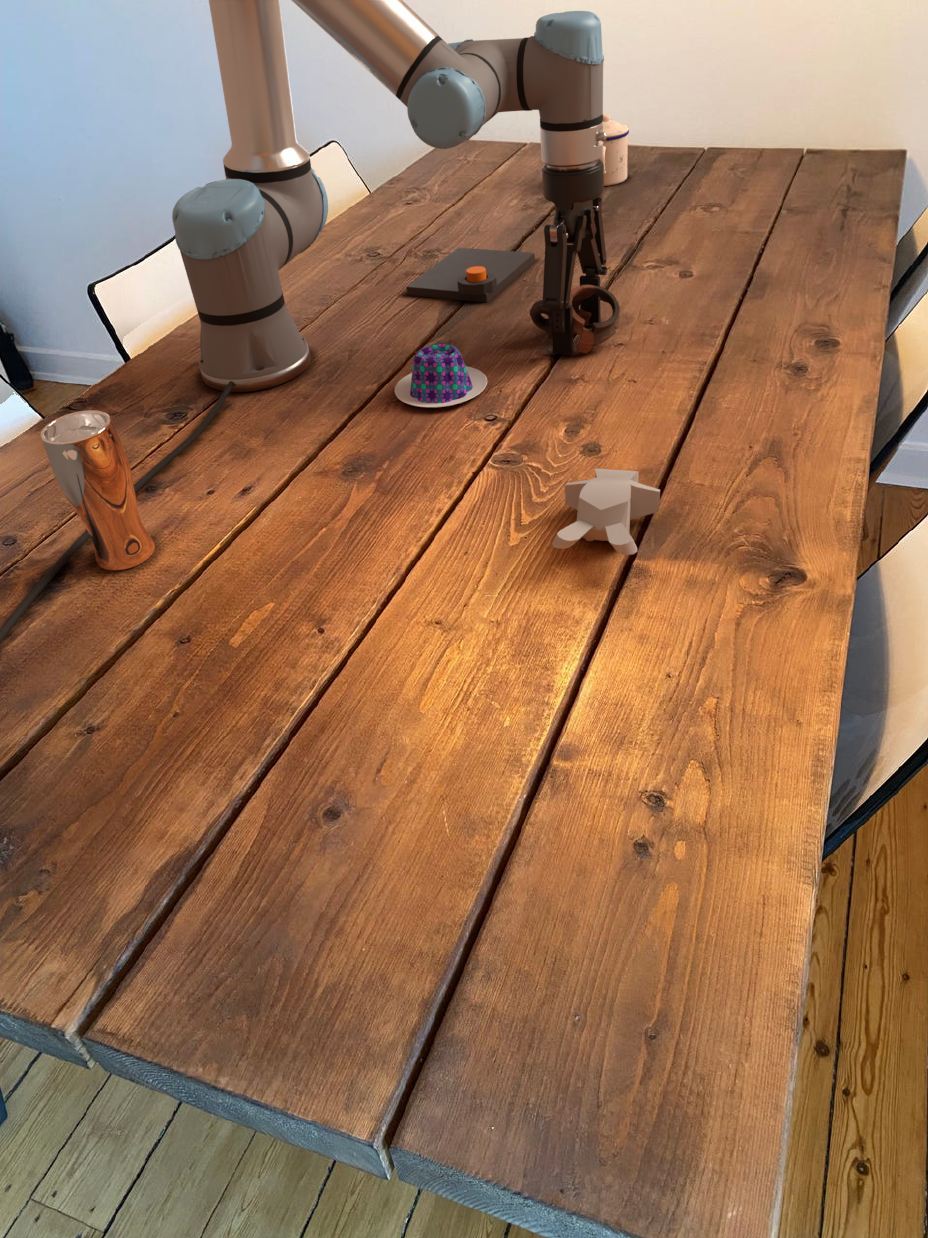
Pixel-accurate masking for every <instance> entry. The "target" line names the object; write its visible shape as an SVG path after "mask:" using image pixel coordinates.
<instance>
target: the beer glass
mask: <svg viewBox="0 0 928 1238" xmlns="http://www.w3.org/2000/svg"><path fill="white" fill-rule="evenodd" d="M39 435H40V440H41V441H42V444H43V446H44V449H45V453H46V456H47V459H48V462H49V466H50V468H51V470H52V473H53V476H54V477H55V479H56V482H57V484H58V486H59V488H60V490H61V491H62V493H63V495H64V496H65V498H66V500H67V502H68V503H69V504H70V505H71V507H72V509H73V510H74V512H75V513H76V515H77V516H78V517H79V519H80V521H81V522H82V524H83V525H84V527H85V528H86V530H88V532H89V534H90V539H91V542H92V547H93V551H94V552H93V553H94V557H95V562H96V563H97V565H98V566H99V567H100V568H101V569H104V570H107V571H113V572H114V571H124V570H128V569H132V568H135V567H137V566H139V565H141V564H143V563H144V562H146V561H147V560H148V559H149V558H150V557H151V556H152V555H153V553H154V552H155V549H156V545H155V542H154V540H153V538H152V537H151V536H150V533H149V532H148V531H147V529H146V527H145V526H144V525H145V524H143V523H144V522H142V519H141V515H140V513H139V507H138V503H137V495H136V493H135V489H134V484H135V483H134V478H133V473H132V469H131V464H130V461H129V458H128V456H127V453H126V451H125V448H124V445H123V444H122V440H121V439H120V436H119V434H118V432H117V430H116V428H115V426H114V424H113V422H112V419H111V416H110V415H109V414H108V413H106V412H104V411H101V410H96V409H95V410H93V409H92V410H89V409H88V410H81V411H75V412H71V413H67V414H65V415H62V416H60V417H57V418H55V419H54V420H52V421H50V422H48V423H47V424H46V425H45V426H44V427H43V428H42V430H41V431H40V434H39Z"/></svg>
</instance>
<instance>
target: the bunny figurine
mask: <svg viewBox="0 0 928 1238" xmlns="http://www.w3.org/2000/svg"><path fill="white" fill-rule="evenodd" d="M594 471H595V472H594V473H595V474H594V475H595V476H594V478H589V479H584V480H577V481H569V482H567V483H565V485H564V505H565V506H567V507H570V508H572V509H573V510H576V511H577V513H576V520H575V521H574V522H573V523H571V524H569V525H567V526H565V527H564V528H561V529H560V530H558V532H556V535H555V537H554V539H553V541H552V543H551V545H552V547H553V548H555V549H559V550H564V549H568V548H571V547H572V546H574V545H575V544H576V543H578V541H579V540H580V539H585V541H587V542H594V541H601V542H602V541H603V542H605V541H606V542H608V543H609V544H610V545H611V546H612V547H613V549H614V550H615V552H616V553H618V554H620V555H625V556H629V555H630V556H631V555H635V554H637V553H638V547H637V544H636V543H635V540H634V538H633V537H632V535H631V533H630V529H631V527H630V526H631V525H630V524H631V520H633V519H637V518H641V517H644V516H648V515H652V514H656V513H659V512H660V498H661V489H659V488H656V487H653V486H649V485H647V484H643V483H641V482H639V475H640V473H639V471H638V470H627V469H626V470H624V469H611V468H609V469H608V468H595V469H594Z"/></svg>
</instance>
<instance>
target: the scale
mask: <svg viewBox="0 0 928 1238" xmlns="http://www.w3.org/2000/svg"><path fill="white" fill-rule="evenodd" d="M535 260H536V257H535V252H529V251H515V250H501V249H485V248H473V247H472V248H471V247H457V248H456V249H455V250H453V251H452V252H451V253H449V254H448V255H447V256H446V257H444V258H443V259H441V260H440V261H438V262H437V263H436V264H434V265H433V266H432V267H430V268H429V269H428V270H427V271H425V272H424V273H422V274H421V275H420V276H418V277H417V278H416V279H415V280H413V281H412V282H411V283H409V284H408V285H407V286H406V294H407V296H412V297H413V296H414V297H423V298H435V299H445V300H457V301H465V302H477V303H485V304H486V303H488V302H490V301H491V300H492V299H493V298H495V297H496V296H497V295H498V294H499V293H500V292H501V291H502V290H504V288H506V287H507V286H509V284H510V283H512V282H513V281H514V280H515V279H516V278H517V277H518V276H519V275H520V274H521V273H523V272H524V271H525V270H526V269H527V268H529V267H530V266H531V265H532V264H533V263H534V262H535ZM475 266H482V267H485V268H486V278H487V279H486V280H483V281H479V282H468V281H467V276H466V270H467V269H468V268H470V267H475Z"/></svg>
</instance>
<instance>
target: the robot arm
mask: <svg viewBox="0 0 928 1238" xmlns="http://www.w3.org/2000/svg"><path fill="white" fill-rule="evenodd" d="M291 2H293V3H294V5H296V6H297V7H298V8H299V9H300V11H302V12H304V14H306V15H307V16H308V17H309V18H310V19H311V20H312V21H313V22H314V23H315V24H317V26H319V27H320V28H321V29H322V30H323V31H324V32H325V33H326V34H327V35H328V36H330V37H331V38H332V39H333V40H334V41H335V42H336V43H337V44H338V45H339V46H340V47H341V48H342V49H344V51H346V53H348V54H349V55H350V56H351V57H352V58H353V59H355V61H357V62H358V63H359V65H360V66H362V67H363V68H364V69H365V70H366V71H367V72H369V73H370V74H371V75H372V76H373V77H374V78H375V79H376V80H377V81H379V82H380V83H381V84H382V85H383V86H384V87H385V88H386V89H387V90H388V91H389V92H390V93H392V95H394V96H395V98H397V99H398V100H399V101H400V102H401V103H402V104H403V105H404V106H405V107H406V109H407V118H408V120H409V123H410V126H411V128H412V130H413V132H414V134H415V136H417V137H418V139H419V140H421V141H422V142H423V143H424V144H426V145H427V146H430V147H431V148H435V149H438V150H439V149H440V150H441V149H442V150H447V149H452V148H456V147H457V146H459V145H461V144H464V143H465V142H468V141H469V140H471V138H473V136H476V135H477V134H478V133H479V132H480V130H481V128H482V127H483V126H484V125H486V124H487V123H488V122H489V121H490V120H491V119H493V118H494V117H495V116H496V115H497V114H498V113H509V112H524V111H525V112H532V111H538V115H539V134H540V135H539V139H540V160H541V162H542V163H543V164H544V166H543V167H542V168H541V174H542V175H541V177H542V179H541V180H542V194H543V197H544V199H545V200H547V201H548V202H551V203H552V204H553V205H554V207H555V210H554V211H555V212H554V217H553V224H548V223H547V224H544V227H543V235H544V244H545V245H544V261H543V262H544V265H543V283H542V284H543V285H542V300H543V302H542V304H543V307H544V308H551V323H552V338H551V341H552V344H551V345H552V354H558V355H565V356H566V355H567V356H572V355H573V354H575V353H574V352H575V349H574V348H575V347H574V331H573V310H572V305H569V300H570V293H571V290H572V287H573V286H572V285H573V278H574V273H575V272H574V271H575V265H576V258H577V257H578V262H579V265H580V268H581V272H582V274H584V275H580V276H579V286H581V285H594V286H599V287H601V276H607V273H608V266H606V265H607V263H608V262H607V251H606V242H605V241H606V239H605V231H604V220H603V213H602V211H603V210H602V209H603V195H602V194H603V193H604V190H605V186H604V164H603V163H602V161H601V160H599V159H600V158H601V157H602V156H603V141H605V140H606V138H607V135H606V133H605V132H603V114H604V61H605V55H604V53H603V36H602V22H601V19H600V17H599V15H597V14H596V13H595V12H592V11H589V10H569V11H568V10H567V11H564V12H554V13H548V14H545V15H543V16H540V17H539V18H538V19H537V20H536V23H535V31H534V33H533V35H530V36H527V37H520V38H519V37H518V38H501V39H500V38H498V39H497V38H496V39H479V40H478V39H477V40H476V39H475V40H474V39H471V38H469V39H468V38H467V39H465V40H463V41H458V42H448V43H447V42H446V40H444V39H443V38H442V37H441V36H440V35H439V34H438V33H437V32H436V31H435V30H434V29H433V28H432V27H431V26H430V25H429V24H428V23H427V22H426V21H425V20H424V19H423V18H422V17H421V16H420V15H418V14H417V12H415V11H414V10H413V9H412V8H411V7H410V6H409V5H408V3H406V2H405V1H404V0H291ZM208 5H209V9H210V17H211V24H212V29H213V35H214V42H215V48H216V54H217V61H218V66H219V68H218V69H219V73H220V79H221V85H222V92H223V97H224V104H225V110H226V116H227V124H228V129H229V135H230V141H231V146H230V148H229V149H228V151H227V152H226V154H225V155H224V156H223V159H222V163H223V170H224V176H225V179H221V180H214V181H211V182H208V183H206V184H205V185H204V186H197V187H195V188H193V189H190V190H189V191H188V192H186V193H185V194H184V195H182V196H181V197H180V198H179V199H178V200H177V201H176V203H174V207H173V208H172V214H171V219H172V224H173V229H174V239H175V243H176V246H177V248H178V250H179V251H180V256H181V259H182V262H183V267H184V270H185V273H186V277H187V280H188V283H189V287H190V290H191V294H192V299H193V301H194V304H195V308H196V311H197V314H198V318H199V323H200V334H199V335H200V336H199V337H200V339H199V340H200V341H199V342H200V343H199V348H200V349H199V350H200V351H199V352H200V356H199V359H198V360H199V361H198V362H199V363H198V366H199V371H200V374H201V377H202V381H203V383H204V384H205V385H206V386H208V387H209V388H211V389H214V390H216V391H221V394H220V395H219V397H218V399H217V401H216V402H215V404H214V405H213V407H212V408H211V410H210V411H209V412H208V414H207V415H206V417H205V418H204V419H203V420H202V421H201V423H200V424H199V425H198V427H196V429H194V431H193V432H192V433H191V434H190V435H189V436H188V437H187V438H186V439H185V440H183V442H182V443H180V444H179V445H178V446H177V447H176V448H174V449H173V450H172V451H171V452H170V453H169V454H167V455H166V456H165V457H164V458H162V459H161V460H160V461H159V462H158V463H157V464H155V465H154V466H153V467H152V468H151V469H150V470H149V471H147V472H146V473H145V474H144V475H143V476H142V477H141V478H139V479H138V480H137V482H135V483H134V489H135V494H136V493H137V492H139V491H140V490H141V489H142V488H143V487H144V486H145V485H146V484H147V483H149V482H150V481H151V480H152V479H153V477H155V476H156V475H157V474H159V473H160V472H161V471H162V470H163V469H164V468H165V467H167V465H169V464H170V463H171V462H172V461H174V460H175V459H176V458H177V457H178V456H179V455H180V454H182V453H183V452H184V451H185V450H186V449H187V448H189V447H190V446H191V445H192V444H193V443H194V442H195V441H196V440H197V439H198V438H199V436H201V434H202V433H203V432H204V431H205V430H206V429H207V427H208V426H209V425H210V424H211V422H212V421H213V420H214V418H215V416H216V415H217V413H218V412H219V411H220V410H221V408H222V406H223V405H224V403H225V402H226V399H227V398H228V396H229V394H230V393H245V392H255V391H260V390H266V389H270V388H273V387H276V386H280V385H282V384H284V383H286V382H289V381H291V380H293V379H295V378H296V377H298V376H300V375H301V374H302V373H303V372H304V371H305V370H306V369H307V368H308V367H309V366H310V364H311V362H312V361H311V360H312V359H311V353H310V348H309V344H308V342H307V341H306V339H305V337H304V336H303V335H302V334H301V333H300V330H299V329H298V326H297V325H296V323H295V321H294V319H293V317H292V314H291V313H290V311H289V310H288V308H287V305H286V301H285V296H284V292H283V287H282V282H281V279H280V274H279V271H280V270H281V269H283V267H284V266H286V265H287V264H289V263H290V262H291V261H292V260H293V259H295V258H296V257H297V256H298V255H300V254H302V253H304V252H306V250H308V249H309V248H310V247H311V246H312V245H313V244H314V243H315V241H316V240H317V238H318V237H320V234H321V233H322V231H323V230H324V228H325V226H326V223H327V219H328V215H329V199H328V194H327V191H326V187H325V185H324V183H323V181H322V179H321V177H319V176H317V174H316V173H315V170H314V169H313V168H312V162H311V156H310V153H309V151H308V150H307V149H306V148H305V147H303V145H302V144H300V143H299V142H298V140H297V131H296V125H295V124H296V123H295V116H294V106H293V98H292V90H291V83H290V81H291V80H290V74H289V66H288V65H289V63H288V57H287V49H286V48H287V47H286V40H285V33H284V32H285V31H284V23H283V15H282V14H283V13H282V8H281V0H208ZM579 309H581V310H583V311H586V312H590V313H591V317H590V319H589V322H588V325H593V323H600V322H602V321H601V298H600V297H599V296H597V295H595V294H592V295H591V296H590V297H589V298H587V299H583V300H582V302H581V304H580V306H579ZM89 539H91V537H90V534H89V532H88V530H87V529H86V530H85V531H84V532H83V533H82V534H81V535H80V536H79V537H78V538H77V539H76V540H75V541H74V542H73V543H72V544H71V545H70V546H69V547H68V549H66V551H64V553H62V555H61V556H60V557H59V558H58V559H57V560H56V561H55V563H54V564H53V565H52V566H51V567H50V568H49V569H48V570H47V572H46V573H45V574H44V575H43V576H42V577H41V579H40V580H39V581H38V582H37V583H36V584H35V585H34V587H33V588H32V589H31V590H30V592H29V593H28V594H27V595H26V596H25V597H24V599H22V601H21V603H20V604H18V606H17V607H16V609H14V611H13V612H12V613H11V615H10V616H9V617H8V619H6V621H5V622H4V623H3V625H2V626H1V627H0V644H1V643H2V642H3V641H4V639H5V638H6V636H7V635H8V634H9V633H10V632H11V630H12V629H13V628H14V626H15V625H16V623H17V622H18V621H19V620H20V618H22V616H23V615H24V614H25V613H26V611H27V610H28V609H29V607H30V606H32V603H33V602H34V601H35V600H36V599H37V597H38V596H39V595H40V594H42V591H43V590H44V589H45V588H46V587H47V585H49V584H50V582H51V581H52V580H53V579H54V577H55V576H56V575H57V574H58V573H59V572H60V571H61V570H62V569H63V567H64V566H65V565H66V564H67V563H68V561H70V559H72V557H73V556H74V555H75V554H76V553H77V552H78V551H79V549H80V548H82V546H83V545H84V544H85V543H86V542H88V540H89Z"/></svg>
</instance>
